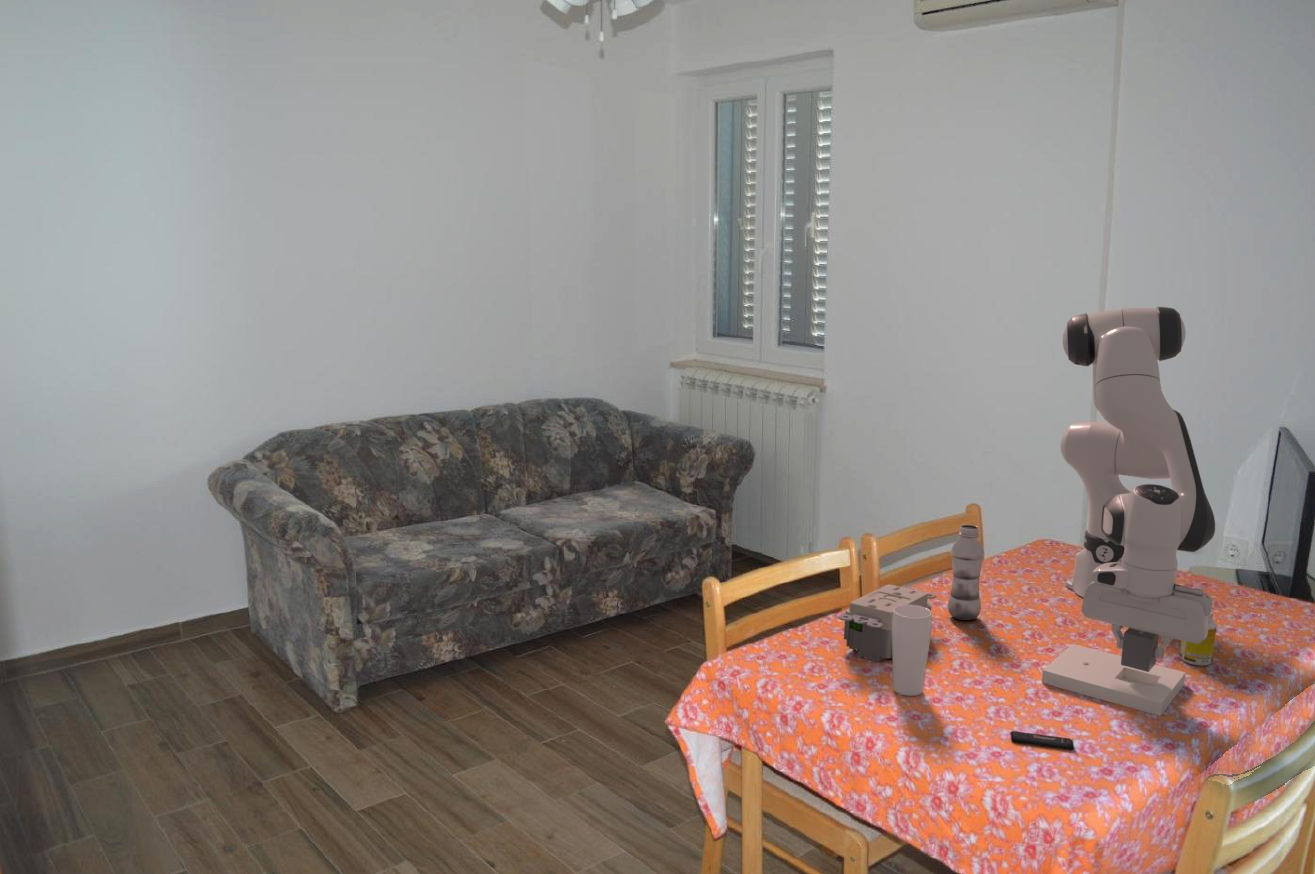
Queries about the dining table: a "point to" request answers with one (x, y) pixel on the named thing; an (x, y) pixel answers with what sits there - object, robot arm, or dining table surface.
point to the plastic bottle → (966, 574)
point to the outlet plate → (1114, 679)
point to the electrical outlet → (878, 619)
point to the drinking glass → (910, 648)
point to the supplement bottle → (1200, 647)
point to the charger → (1139, 649)
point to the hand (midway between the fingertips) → (1139, 652)
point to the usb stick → (1042, 740)
